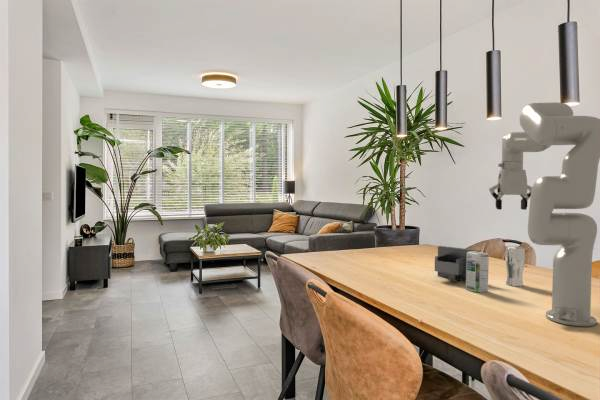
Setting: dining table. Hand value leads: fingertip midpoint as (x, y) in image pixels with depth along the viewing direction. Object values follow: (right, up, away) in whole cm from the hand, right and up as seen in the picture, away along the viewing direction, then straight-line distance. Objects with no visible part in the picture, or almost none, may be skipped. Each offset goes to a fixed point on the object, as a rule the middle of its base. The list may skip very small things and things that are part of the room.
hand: (511, 209), depth 165 cm
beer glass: (+2, -30, 0) cm, 30 cm away
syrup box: (-17, -31, -9) cm, 36 cm away
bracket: (-21, -30, +7) cm, 37 cm away
